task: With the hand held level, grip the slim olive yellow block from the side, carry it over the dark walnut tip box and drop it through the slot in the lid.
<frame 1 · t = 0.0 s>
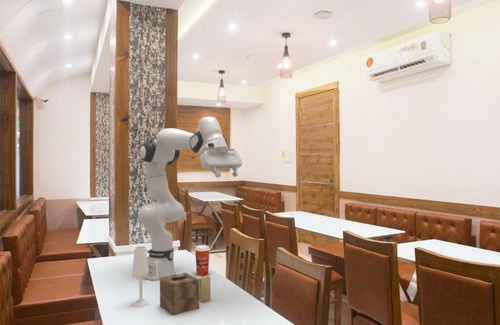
hand: (227, 176, 161), 54 cm above the table, tool tilted 30°, fingers open, 8 cm apart
champagne flute: (140, 303, 162), on the table
olive yellow block: (204, 300, 164), on the table
coffee cup: (202, 274, 203), on the table
walnut tip box: (179, 307, 157), on the table
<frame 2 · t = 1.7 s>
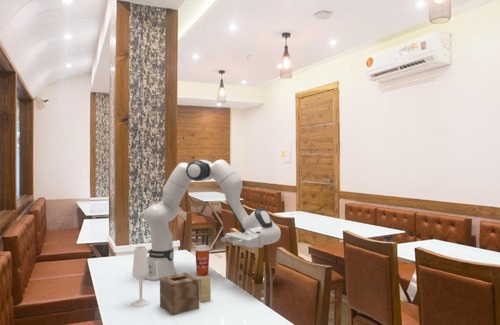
hand: (227, 241, 171), 24 cm above the table, tool horizontal, fingers open, 8 cm apart
nothing on the table moved.
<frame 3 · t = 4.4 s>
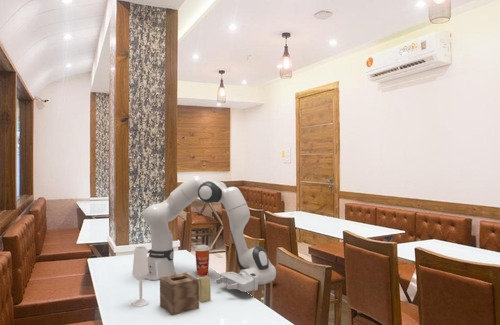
hand: (221, 284, 169), 5 cm above the table, tool horizontal, fingers open, 8 cm apart
nothing on the table moved.
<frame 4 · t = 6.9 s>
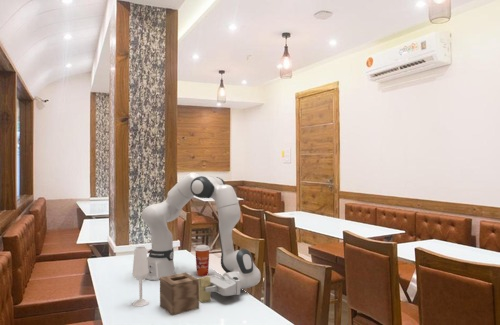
hand: (202, 288, 164), 6 cm above the table, tool horizontal, fingers closed on olive yellow block, 2 cm apart
olive yellow block: (204, 300, 164), on the table, touching gripper
everything else where it was.
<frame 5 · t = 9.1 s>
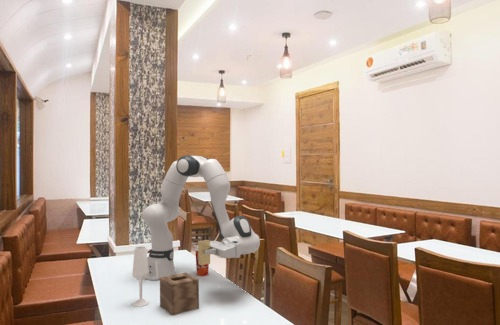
hand: (202, 251, 164), 22 cm above the table, tool horizontal, fingers closed on olive yellow block, 2 cm apart
olive yellow block: (204, 263, 164), point 16 cm above the table, touching gripper
everything else where it was.
when the fingers open (18 cm above the table, at t = 11.5 s): olive yellow block drops 13 cm, resting in walnut tip box.
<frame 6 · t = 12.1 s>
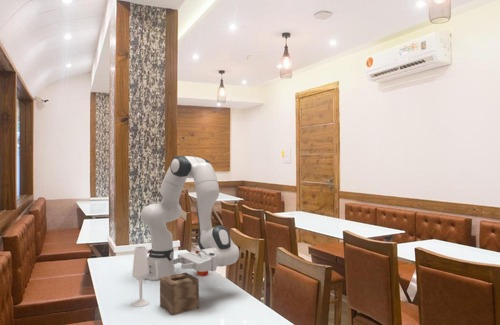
hand: (176, 264, 157), 18 cm above the table, tool horizontal, fingers open, 8 cm apart
olive yellow block: (179, 307, 157), resting in walnut tip box
everything else where it was.
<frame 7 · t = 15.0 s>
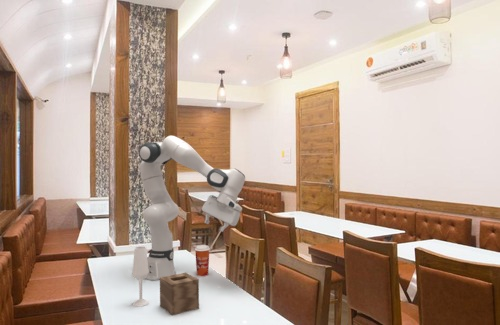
hand: (213, 227, 180), 29 cm above the table, tool tilted 25°, fingers open, 8 cm apart
nothing on the table moved.
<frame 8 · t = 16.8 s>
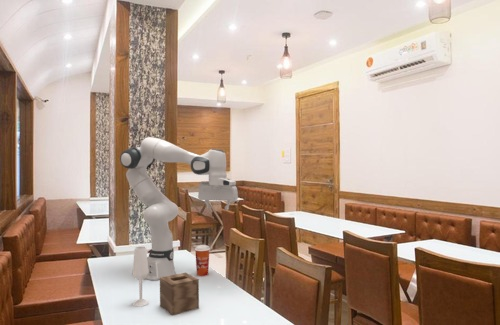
hand: (217, 209, 186), 37 cm above the table, tool pointing down, fingers open, 8 cm apart
nothing on the table moved.
at the end: olive yellow block resting in walnut tip box; olive yellow block 0.0 cm from the walnut tip box (horizontally); the gripper is holding nothing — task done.
